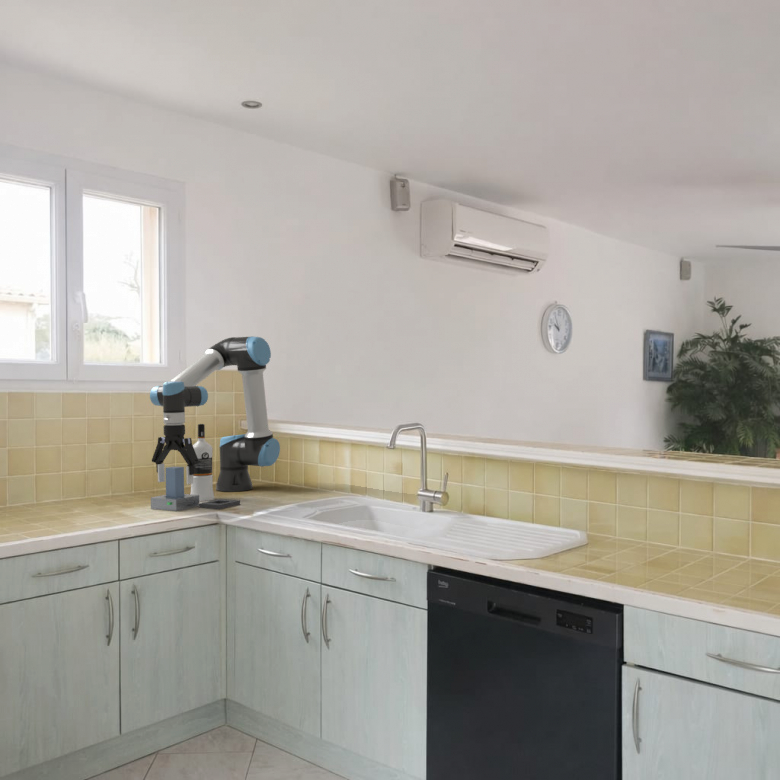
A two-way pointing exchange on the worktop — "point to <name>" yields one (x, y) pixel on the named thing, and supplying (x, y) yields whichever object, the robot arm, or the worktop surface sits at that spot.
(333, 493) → the worktop surface
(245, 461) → the robot arm
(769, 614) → the worktop surface
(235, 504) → the dark grey flat frame
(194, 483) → the vodka
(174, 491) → the plug
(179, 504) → the block
